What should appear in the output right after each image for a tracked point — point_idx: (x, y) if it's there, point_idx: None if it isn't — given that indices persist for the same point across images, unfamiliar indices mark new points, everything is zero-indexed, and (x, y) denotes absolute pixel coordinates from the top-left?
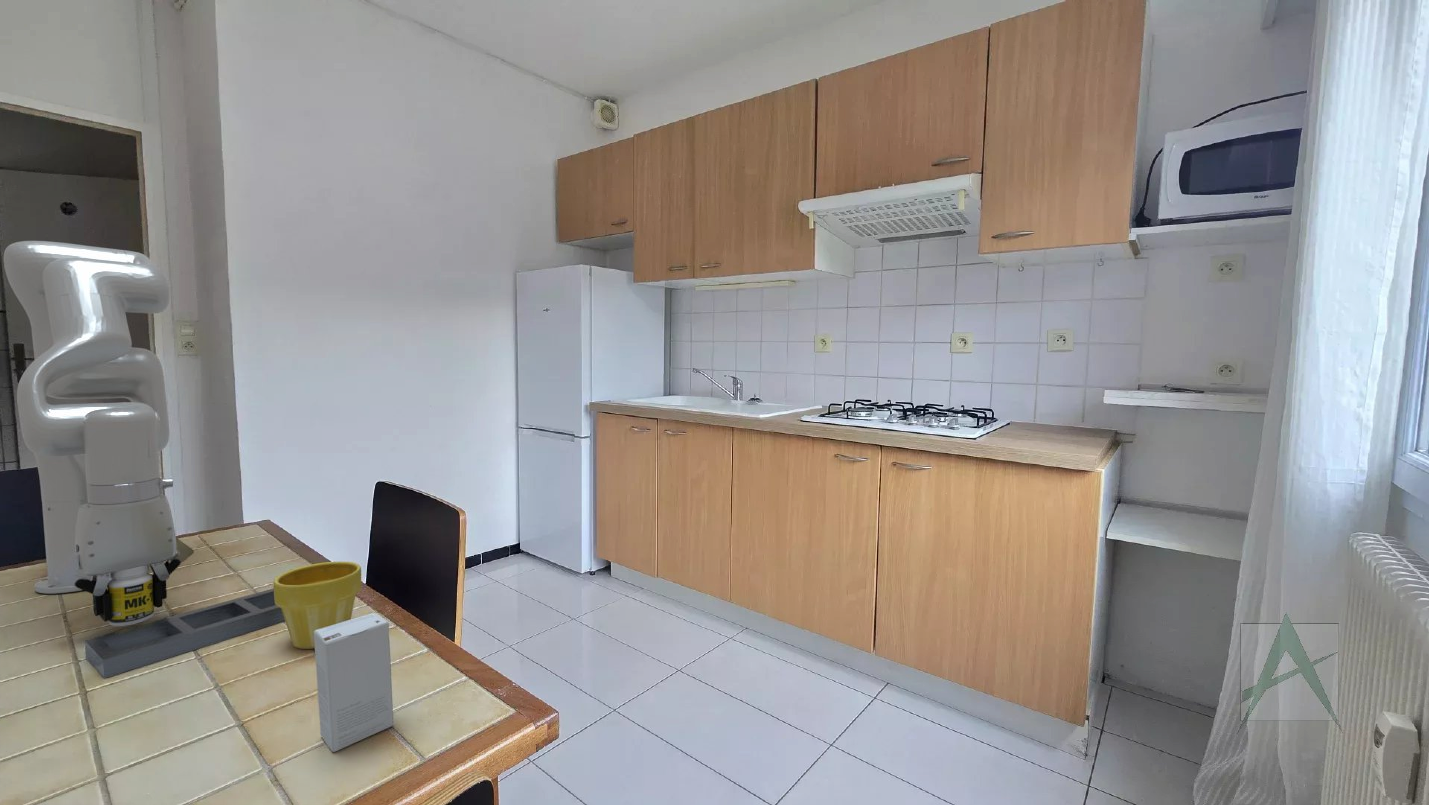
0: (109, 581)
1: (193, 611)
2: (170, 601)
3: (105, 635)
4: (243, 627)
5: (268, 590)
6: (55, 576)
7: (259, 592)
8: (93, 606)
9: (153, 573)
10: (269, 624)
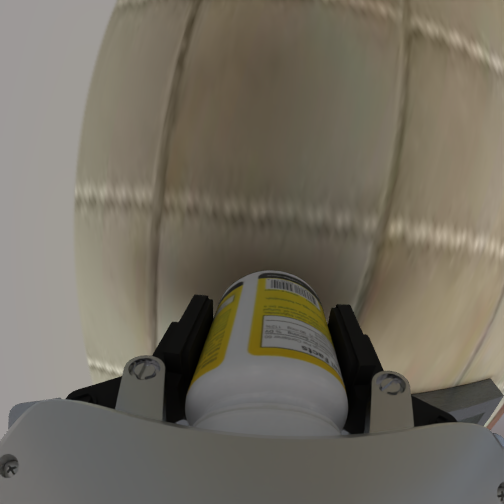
0: (189, 414)
1: (346, 432)
2: (410, 151)
3: (187, 423)
4: None
5: (467, 410)
6: (10, 415)
7: (456, 411)
8: (165, 334)
9: (366, 402)
10: None
